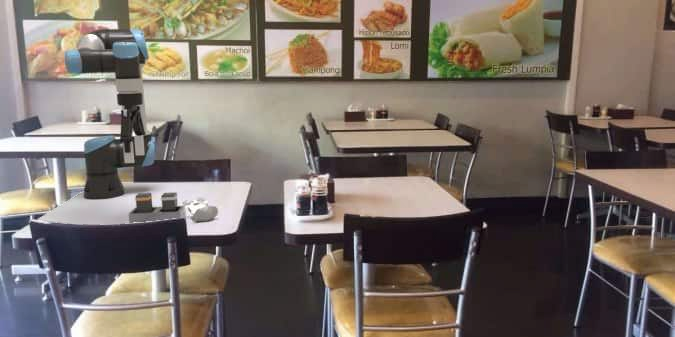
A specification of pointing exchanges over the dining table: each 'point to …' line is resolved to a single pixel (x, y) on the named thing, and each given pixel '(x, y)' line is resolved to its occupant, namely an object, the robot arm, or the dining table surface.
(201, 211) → the figurine
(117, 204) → the dining table surface
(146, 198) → the plug
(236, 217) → the dining table surface
